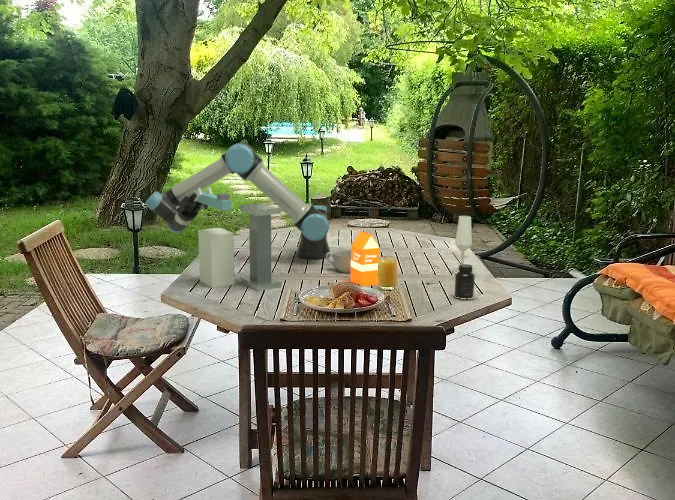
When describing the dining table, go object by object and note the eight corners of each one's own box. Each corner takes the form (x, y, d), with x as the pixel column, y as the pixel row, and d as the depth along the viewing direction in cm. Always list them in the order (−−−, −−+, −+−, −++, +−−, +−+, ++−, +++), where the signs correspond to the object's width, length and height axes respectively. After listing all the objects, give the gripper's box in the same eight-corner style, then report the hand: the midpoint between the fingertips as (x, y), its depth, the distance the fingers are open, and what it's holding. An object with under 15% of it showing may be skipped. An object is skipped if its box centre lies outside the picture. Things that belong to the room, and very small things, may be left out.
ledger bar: (192, 199, 253) (192, 186, 252) (200, 199, 255) (200, 185, 254) (222, 210, 231) (222, 195, 229) (231, 209, 233) (231, 194, 231)
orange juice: (361, 286, 245) (362, 235, 240) (350, 281, 253) (351, 231, 248) (378, 284, 248) (380, 233, 244) (367, 279, 256) (368, 229, 252)
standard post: (240, 282, 248) (239, 205, 242) (263, 278, 254) (263, 203, 247) (257, 290, 237) (256, 210, 230) (281, 287, 243) (281, 208, 236)
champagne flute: (457, 276, 262) (461, 218, 257) (450, 272, 269) (453, 215, 263) (472, 275, 264) (476, 218, 259) (465, 271, 270) (468, 215, 265)
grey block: (199, 280, 249) (198, 229, 245) (221, 277, 254) (220, 227, 250) (212, 287, 240) (211, 235, 235) (234, 284, 245) (233, 233, 240)
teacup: (362, 269, 271) (362, 250, 269) (354, 275, 261) (354, 256, 259) (331, 266, 276) (331, 247, 274) (322, 272, 266) (322, 253, 264)
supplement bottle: (452, 294, 237) (453, 263, 234) (470, 294, 237) (472, 263, 235) (457, 300, 230) (459, 268, 227) (475, 300, 231) (477, 267, 228)
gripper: (207, 220, 269) (227, 198, 250) (168, 223, 260) (186, 201, 241) (203, 203, 270) (223, 181, 251) (164, 206, 261) (182, 183, 242)
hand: (205, 191), depth 246 cm, fingers closed on ledger bar, 3 cm apart
